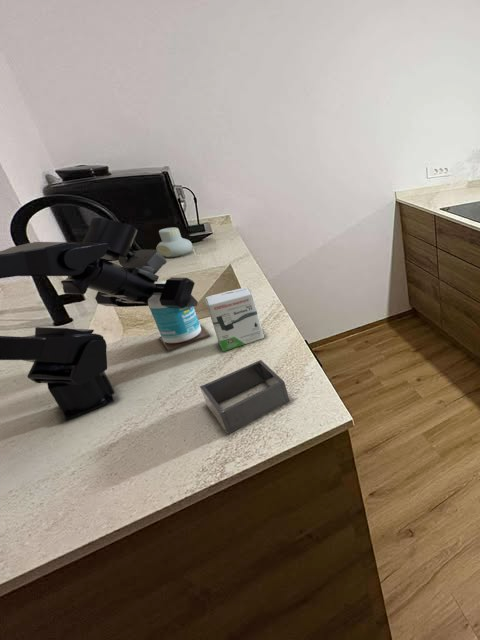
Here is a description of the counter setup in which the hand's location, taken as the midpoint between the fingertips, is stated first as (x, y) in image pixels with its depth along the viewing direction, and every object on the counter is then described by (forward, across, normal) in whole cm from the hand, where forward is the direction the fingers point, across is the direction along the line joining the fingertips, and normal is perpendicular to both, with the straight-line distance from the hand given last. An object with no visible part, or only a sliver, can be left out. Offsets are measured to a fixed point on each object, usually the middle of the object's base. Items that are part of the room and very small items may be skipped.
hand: (178, 303), depth 87 cm
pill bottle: (+4, 0, +7) cm, 8 cm away
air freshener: (+44, +50, -32) cm, 74 cm away
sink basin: (-10, -30, +21) cm, 38 cm away
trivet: (+5, 0, +7) cm, 8 cm away
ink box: (+5, -15, +7) cm, 17 cm away
